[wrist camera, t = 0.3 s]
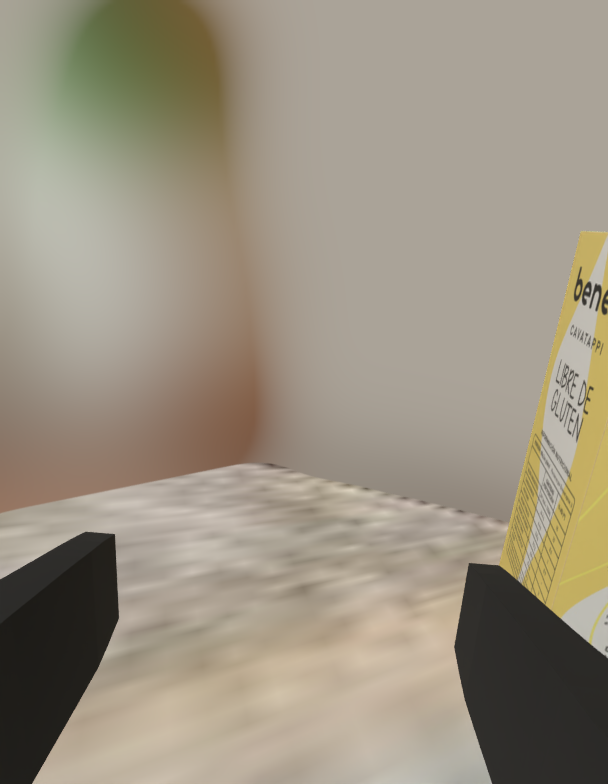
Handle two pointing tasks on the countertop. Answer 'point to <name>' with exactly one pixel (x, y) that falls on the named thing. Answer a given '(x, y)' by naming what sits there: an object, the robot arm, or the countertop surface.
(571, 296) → the pasta box
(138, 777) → the countertop surface
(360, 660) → the countertop surface
